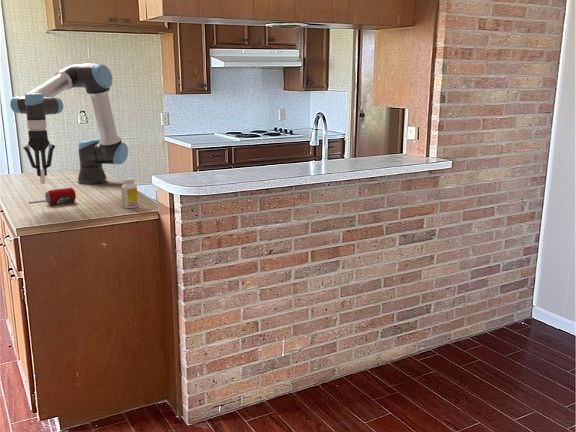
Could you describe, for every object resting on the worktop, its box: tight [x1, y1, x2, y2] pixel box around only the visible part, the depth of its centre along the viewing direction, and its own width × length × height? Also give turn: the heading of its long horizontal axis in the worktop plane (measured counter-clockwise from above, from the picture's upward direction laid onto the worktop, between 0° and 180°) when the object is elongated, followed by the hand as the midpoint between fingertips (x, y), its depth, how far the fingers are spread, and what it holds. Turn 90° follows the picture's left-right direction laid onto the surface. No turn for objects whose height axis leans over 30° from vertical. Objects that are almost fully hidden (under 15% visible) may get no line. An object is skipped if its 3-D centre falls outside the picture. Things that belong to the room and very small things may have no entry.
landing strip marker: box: [28, 199, 46, 204], centre depth 259 cm, size 18×2×1 cm, turn 127°
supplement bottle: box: [121, 177, 139, 209], centre depth 247 cm, size 7×7×13 cm
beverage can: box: [44, 187, 77, 206], centre depth 253 cm, size 7×7×12 cm
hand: (42, 183), depth 245 cm, fingers closed
